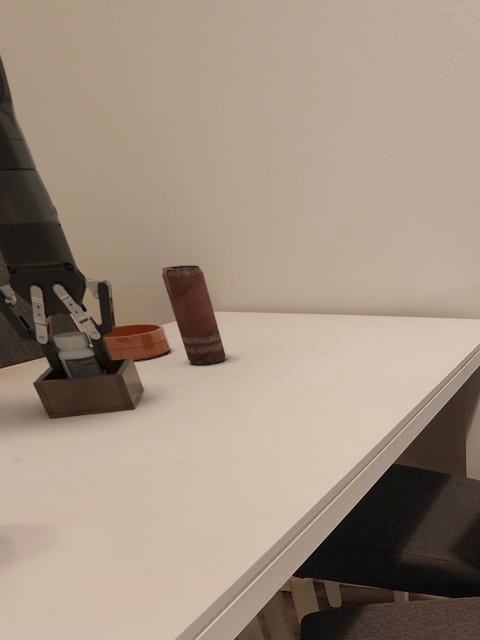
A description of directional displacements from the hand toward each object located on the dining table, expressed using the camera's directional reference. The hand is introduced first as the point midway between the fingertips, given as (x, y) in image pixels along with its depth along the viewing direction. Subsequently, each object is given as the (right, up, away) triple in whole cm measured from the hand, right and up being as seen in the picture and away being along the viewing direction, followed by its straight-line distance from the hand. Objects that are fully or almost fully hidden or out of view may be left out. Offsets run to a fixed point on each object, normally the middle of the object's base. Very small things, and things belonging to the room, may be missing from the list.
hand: (84, 369), depth 81 cm
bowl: (-9, +15, +27) cm, 32 cm away
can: (+7, +11, +21) cm, 25 cm away
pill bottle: (0, -3, +3) cm, 4 cm away
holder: (0, -3, +3) cm, 4 cm away
